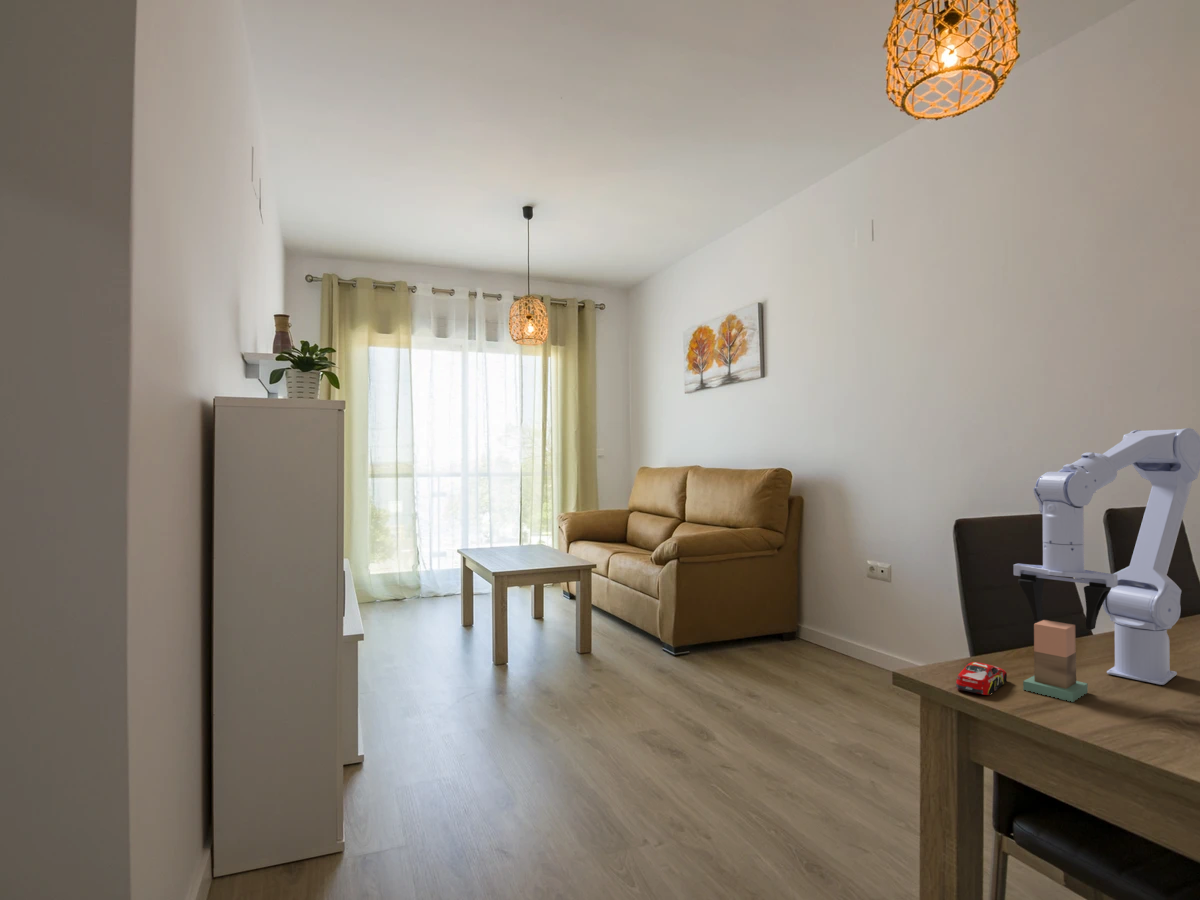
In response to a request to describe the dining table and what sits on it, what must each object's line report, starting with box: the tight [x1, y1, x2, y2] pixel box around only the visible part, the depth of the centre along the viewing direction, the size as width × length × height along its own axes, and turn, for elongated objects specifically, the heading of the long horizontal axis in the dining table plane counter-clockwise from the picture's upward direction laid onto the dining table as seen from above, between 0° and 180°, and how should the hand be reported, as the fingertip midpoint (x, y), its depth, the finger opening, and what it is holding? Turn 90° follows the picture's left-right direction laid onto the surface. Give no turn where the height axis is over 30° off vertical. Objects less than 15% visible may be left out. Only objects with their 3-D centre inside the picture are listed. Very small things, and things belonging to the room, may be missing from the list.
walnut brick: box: [1033, 651, 1077, 689], centre depth 111 cm, size 4×4×5 cm
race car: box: [955, 661, 1008, 696], centre depth 114 cm, size 13×5×4 cm, turn 134°
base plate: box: [1022, 675, 1089, 703], centre depth 111 cm, size 7×7×2 cm
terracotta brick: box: [1033, 619, 1076, 657], centre depth 111 cm, size 4×4×4 cm
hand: (1063, 624), depth 114 cm, fingers open, 7 cm apart
